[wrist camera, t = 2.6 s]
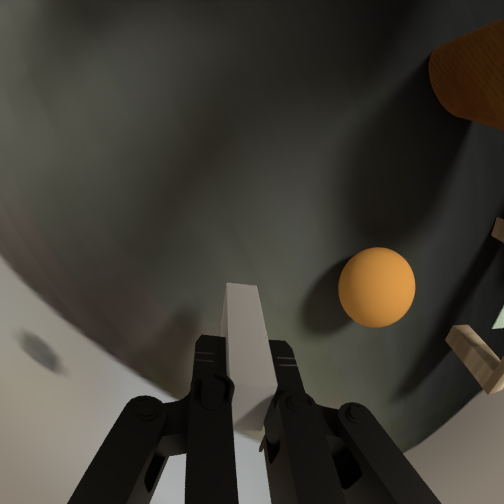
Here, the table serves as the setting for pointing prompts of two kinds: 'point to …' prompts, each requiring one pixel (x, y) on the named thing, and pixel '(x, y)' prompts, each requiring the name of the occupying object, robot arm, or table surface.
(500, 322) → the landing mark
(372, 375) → the table surface
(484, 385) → the bridge
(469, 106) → the disposable coffee cup
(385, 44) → the table surface
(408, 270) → the ball
